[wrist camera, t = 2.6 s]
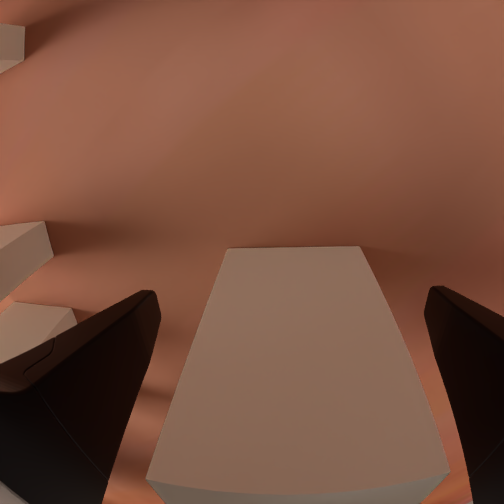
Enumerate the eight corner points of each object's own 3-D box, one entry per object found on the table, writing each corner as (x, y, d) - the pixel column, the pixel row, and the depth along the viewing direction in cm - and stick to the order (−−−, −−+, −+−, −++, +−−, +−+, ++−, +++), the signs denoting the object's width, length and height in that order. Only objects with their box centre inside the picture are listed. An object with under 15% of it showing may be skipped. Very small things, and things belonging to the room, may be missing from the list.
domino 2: (82, 335, 13) (-3, 464, 6) (24, 326, 14) (-56, 425, 7) (71, 307, 13) (-29, 437, 5) (13, 301, 13) (-77, 399, 6)
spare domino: (355, 287, 11) (415, 507, 4) (231, 289, 11) (172, 511, 4) (359, 245, 10) (450, 471, 3) (227, 248, 11) (144, 478, 3)
